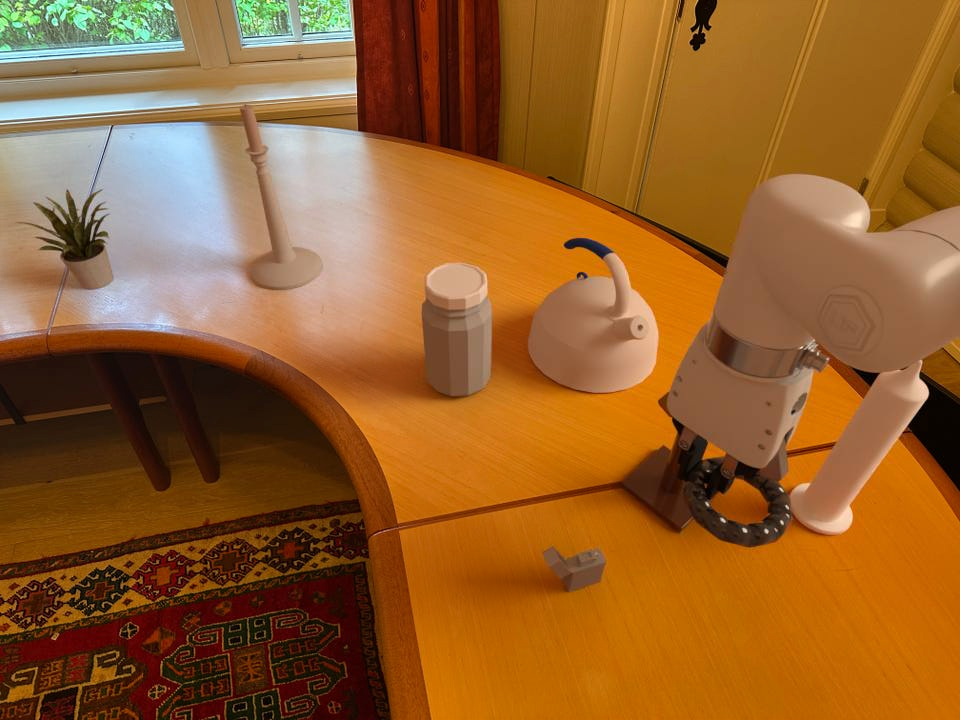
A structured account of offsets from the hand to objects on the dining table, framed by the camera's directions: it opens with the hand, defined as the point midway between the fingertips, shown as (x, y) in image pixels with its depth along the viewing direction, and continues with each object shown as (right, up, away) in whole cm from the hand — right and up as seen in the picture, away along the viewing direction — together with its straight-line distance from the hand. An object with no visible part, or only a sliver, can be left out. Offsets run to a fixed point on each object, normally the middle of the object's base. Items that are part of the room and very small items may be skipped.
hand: (701, 479), depth 59 cm
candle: (+20, -7, +15) cm, 26 cm away
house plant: (-90, +26, +50) cm, 106 cm away
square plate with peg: (+2, -4, +17) cm, 18 cm away
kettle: (-4, +13, +37) cm, 39 cm away
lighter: (-12, -13, +8) cm, 19 cm away
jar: (-25, +9, +32) cm, 41 cm away
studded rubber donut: (+2, -1, -2) cm, 4 cm away
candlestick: (-57, +28, +53) cm, 83 cm away
